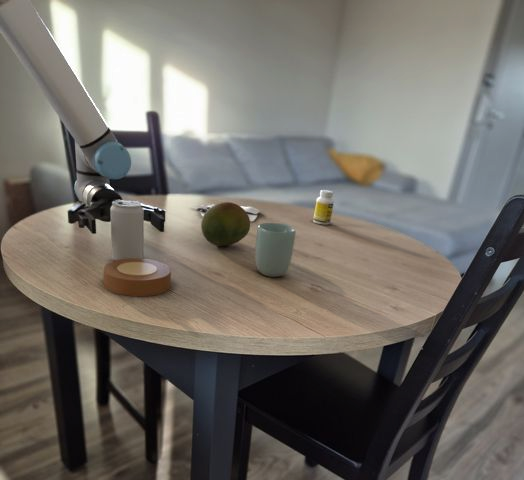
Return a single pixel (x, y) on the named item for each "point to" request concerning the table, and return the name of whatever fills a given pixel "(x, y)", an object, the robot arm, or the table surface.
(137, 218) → the beverage can
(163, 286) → the brown round flat disc
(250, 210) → the cloth
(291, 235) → the cup
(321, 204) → the supplement bottle
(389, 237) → the table surface
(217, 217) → the fruit
